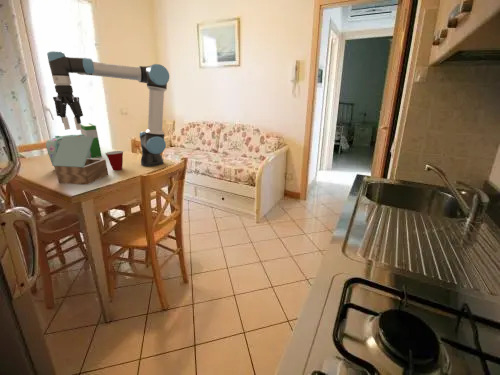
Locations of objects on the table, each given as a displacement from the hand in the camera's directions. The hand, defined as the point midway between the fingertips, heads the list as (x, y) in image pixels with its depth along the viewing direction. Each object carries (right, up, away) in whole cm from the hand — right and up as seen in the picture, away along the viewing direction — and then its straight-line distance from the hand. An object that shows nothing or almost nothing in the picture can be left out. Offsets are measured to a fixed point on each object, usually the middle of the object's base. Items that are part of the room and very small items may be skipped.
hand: (73, 129), depth 143 cm
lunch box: (-25, -17, +37) cm, 48 cm away
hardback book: (-28, -6, +65) cm, 71 cm away
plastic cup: (+10, -20, +29) cm, 37 cm away
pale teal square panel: (-1, -12, +1) cm, 12 cm away
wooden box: (0, -27, +10) cm, 29 cm away
